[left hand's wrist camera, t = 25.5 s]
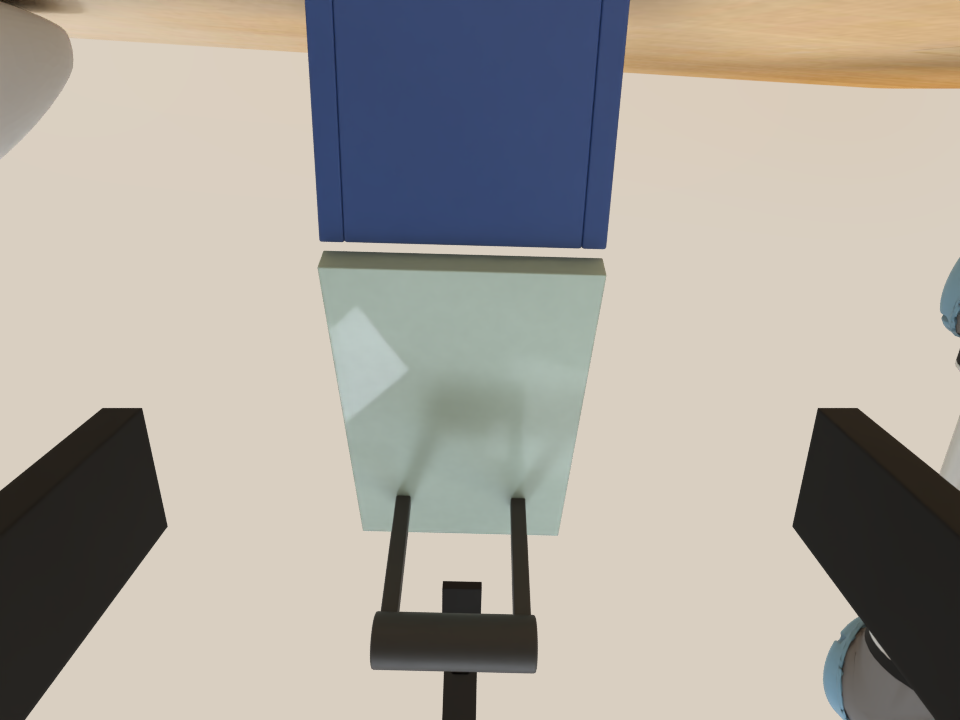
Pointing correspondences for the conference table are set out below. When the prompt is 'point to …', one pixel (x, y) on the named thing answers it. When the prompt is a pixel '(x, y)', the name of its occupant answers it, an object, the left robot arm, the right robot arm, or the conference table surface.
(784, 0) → the conference table surface
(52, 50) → the projector
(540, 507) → the lid
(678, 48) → the conference table surface
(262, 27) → the conference table surface
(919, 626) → the left robot arm
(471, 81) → the chest
